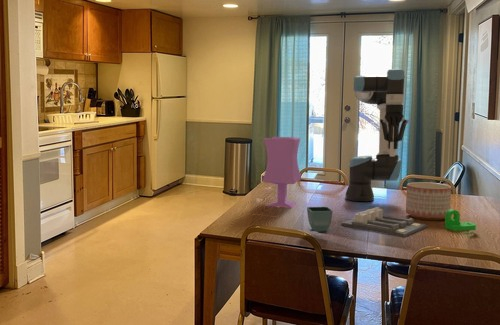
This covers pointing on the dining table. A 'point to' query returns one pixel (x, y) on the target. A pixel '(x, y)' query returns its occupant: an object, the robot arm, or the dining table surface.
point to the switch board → (388, 225)
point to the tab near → (361, 217)
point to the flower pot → (319, 218)
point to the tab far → (378, 212)
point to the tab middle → (370, 214)
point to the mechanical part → (457, 222)
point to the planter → (428, 200)
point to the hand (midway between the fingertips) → (392, 156)
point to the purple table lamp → (282, 166)
